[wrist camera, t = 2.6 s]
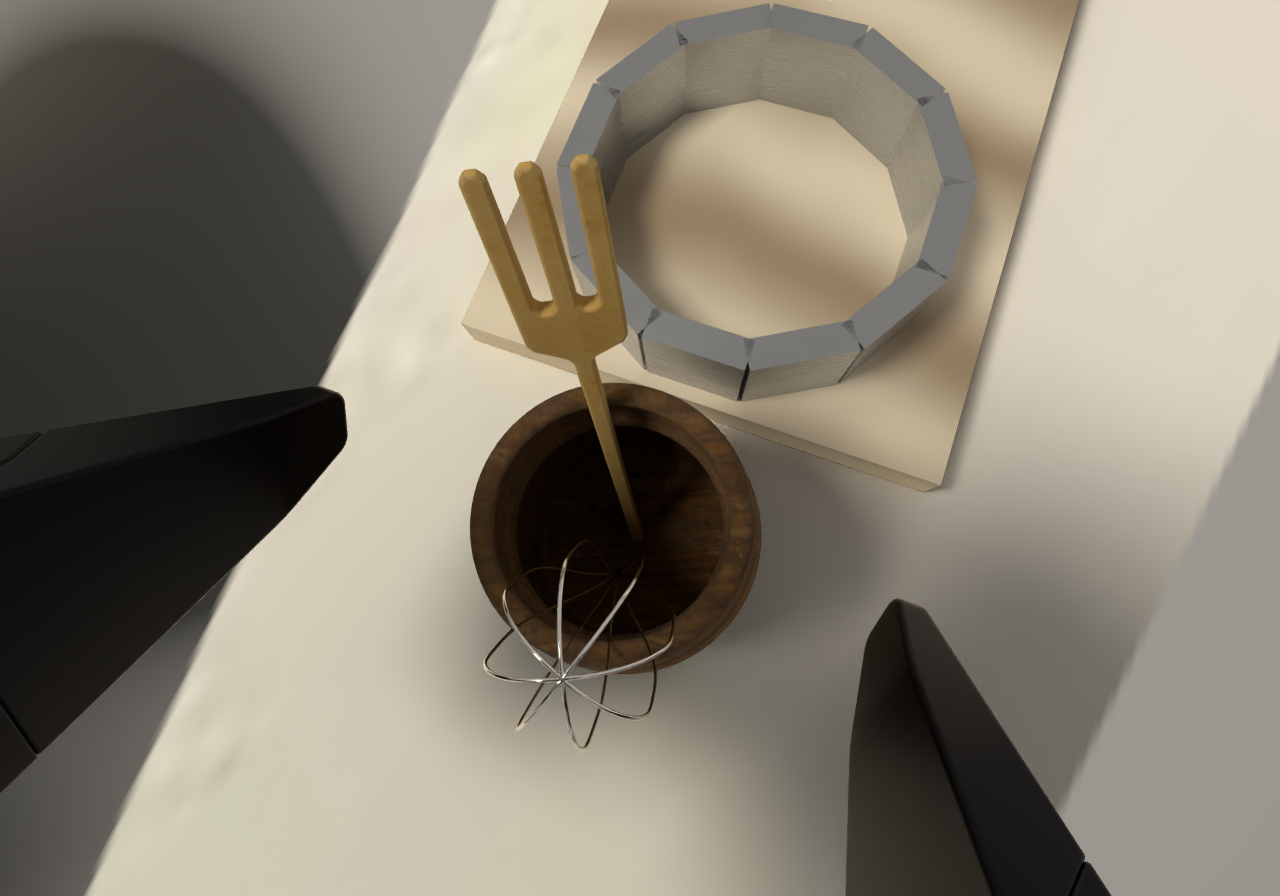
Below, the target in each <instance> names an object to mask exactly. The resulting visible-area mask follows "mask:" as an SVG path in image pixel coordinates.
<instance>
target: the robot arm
mask: <svg viewBox="0 0 1280 896" xmlns="http://www.w3.org/2000/svg"><path fill="white" fill-rule="evenodd" d="M347 436H348V433H347V422H346V411H345V402H344V399H343V397H342V395H341V394H339V393H338V392H335V391H332V390H330V389H327V388H324V387H321V386H311V387H304V388H298V389H292V390H286V391H280V392H274V393H268V394H263V395H257V396H250V397H244V398H238V399H232V400H226V401H220V402H214V403H208V404H202V405H196V406H190V407H184V408H178V409H172V410H166V411H160V412H153V413H147V414H141V415H136V416H129V417H123V418H117V419H111V420H106V421H99V422H93V423H87V424H82V425H75V426H69V427H63V428H58V429H51V430H47V431H45V432H44V433H42V432H39V431H38V432H32V433H26V434H20V435H14V436H8V437H2V438H0V794H1V793H2V792H3V791H4V790H5V789H6V788H7V787H8V786H9V785H10V784H11V783H12V782H13V781H14V780H15V779H16V778H17V777H18V776H19V775H20V774H21V773H22V772H23V771H25V770H26V769H27V767H28V766H30V765H31V764H32V763H33V762H34V760H36V759H37V757H38V755H37V754H41V753H43V752H44V751H45V750H46V748H48V747H49V746H50V745H51V744H52V743H53V742H54V741H55V740H56V739H57V738H58V737H59V736H60V735H61V734H62V733H63V732H64V731H65V730H66V729H67V728H68V727H69V726H70V725H72V724H73V723H74V722H75V721H76V720H77V719H78V718H79V717H80V716H81V715H82V714H83V713H84V712H85V711H86V710H87V709H88V708H89V707H90V706H91V705H92V704H93V703H94V702H95V701H96V700H97V699H98V698H99V697H100V696H101V695H102V694H103V693H104V692H106V691H107V690H108V689H109V688H110V687H111V686H112V685H113V684H114V683H115V682H116V681H117V680H118V679H119V678H120V677H121V676H122V675H123V674H124V673H125V672H126V671H127V670H128V669H129V668H130V667H131V666H132V665H133V664H134V663H136V662H137V661H138V660H139V659H140V658H141V657H142V656H143V655H144V654H145V653H146V652H147V651H148V650H149V649H150V648H151V647H152V646H153V645H154V644H155V643H156V642H157V641H158V640H159V639H160V638H161V637H162V636H163V635H164V634H165V633H166V632H168V631H169V630H170V629H171V627H173V626H174V625H175V624H176V623H177V622H178V621H179V620H180V619H181V618H182V617H183V616H184V615H185V614H186V613H187V612H188V611H189V610H190V609H191V608H192V607H193V606H194V605H195V604H196V603H197V602H198V601H199V600H201V599H202V598H203V597H204V596H205V595H206V594H207V593H208V592H209V591H210V590H211V589H212V588H213V587H214V586H215V585H216V584H217V583H218V582H219V581H220V580H221V579H222V578H223V577H224V576H225V575H226V574H227V573H228V572H229V571H230V570H232V569H233V568H234V567H235V566H236V565H237V564H238V563H239V562H240V561H241V560H242V559H243V558H244V557H245V556H246V555H247V554H248V553H249V552H250V551H251V550H252V549H253V548H254V547H255V546H256V545H257V544H258V543H259V542H260V541H261V540H262V539H264V538H265V537H266V536H267V535H268V534H269V533H270V532H271V531H272V530H273V529H274V528H275V527H276V526H277V525H278V524H279V523H280V522H281V521H282V520H283V519H284V518H285V517H286V516H287V514H288V513H289V512H290V511H291V510H292V509H293V508H294V507H295V505H296V504H297V503H298V502H299V501H300V500H301V498H302V497H303V496H304V495H305V494H306V492H307V491H308V490H309V489H310V488H311V486H312V485H313V484H314V483H315V482H316V480H317V479H318V478H319V477H320V476H321V475H322V473H323V472H324V471H325V470H326V469H327V467H328V466H329V465H330V464H331V463H332V461H333V460H334V459H335V458H336V457H337V455H338V454H339V453H340V452H341V451H342V449H343V448H344V446H345V444H346V441H347ZM1084 860H1085V855H1084V853H1083V852H1082V850H1081V849H1080V847H1079V846H1078V844H1077V842H1076V841H1075V839H1074V838H1073V836H1072V835H1071V833H1070V832H1069V830H1068V829H1067V827H1066V826H1065V824H1064V822H1063V821H1062V819H1061V818H1060V816H1059V815H1058V813H1057V812H1056V810H1055V808H1054V807H1053V805H1052V804H1051V802H1050V801H1049V799H1048V798H1047V796H1046V795H1045V793H1044V791H1043V790H1042V788H1041V787H1040V785H1039V784H1038V782H1037V781H1036V779H1035V778H1034V776H1033V774H1032V773H1031V771H1030V770H1029V768H1028V767H1027V765H1026V764H1025V762H1024V761H1023V759H1022V757H1021V756H1020V754H1019V753H1018V751H1017V750H1016V748H1015V747H1014V745H1013V744H1012V742H1011V740H1010V739H1009V737H1008V736H1007V734H1006V733H1005V731H1004V730H1003V728H1002V727H1001V725H1000V723H999V722H998V720H997V719H996V717H995V716H994V714H993V713H992V711H991V710H990V708H989V707H988V705H987V703H986V702H985V700H984V699H983V697H982V696H981V694H980V693H979V691H978V690H977V688H976V686H975V685H974V683H973V682H972V680H971V679H970V677H969V676H968V674H967V673H966V671H965V669H964V668H963V666H962V665H961V663H960V662H959V660H958V659H957V657H956V656H955V654H954V652H953V651H952V649H951V648H950V646H949V645H948V643H947V642H946V640H945V639H944V637H943V635H942V634H941V632H940V631H939V629H938V628H937V626H936V625H935V623H934V622H933V620H932V618H931V617H930V615H929V614H928V612H927V611H926V610H925V609H924V608H922V607H920V606H918V605H915V604H912V603H910V602H907V601H904V600H901V599H894V600H893V601H892V602H890V604H889V605H888V606H887V608H886V609H885V611H884V613H883V614H882V616H881V617H880V619H879V620H878V622H877V623H876V625H875V627H874V628H873V630H872V631H871V633H870V635H869V637H868V639H867V642H866V646H865V650H864V657H863V664H862V670H861V677H860V683H859V690H858V696H857V703H856V709H855V716H854V722H853V729H852V737H851V744H850V759H849V790H848V825H847V859H846V894H845V896H1111V894H1110V893H1109V891H1108V890H1107V888H1106V887H1105V885H1104V884H1103V882H1102V881H1101V879H1100V878H1099V876H1098V875H1097V873H1096V871H1095V870H1094V868H1093V867H1092V865H1091V864H1090V863H1088V862H1084Z"/></svg>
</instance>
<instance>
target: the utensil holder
mask: <svg viewBox="0 0 1280 896" xmlns="http://www.w3.org/2000/svg"><path fill="white" fill-rule="evenodd" d="M570 172H571V176H572V180H573V185H574V189H575V194H576V198H577V203H578V207H579V212H580V216H581V220H582V225H583V229H584V234H585V238H586V243H587V247H588V252H589V256H590V260H591V265H592V269H593V274H594V278H595V283H596V287H597V293H596V294H595V295H591V296H582V295H580V294H579V293H577V292H576V288H575V284H574V281H573V277H572V274H571V270H570V267H569V263H568V260H567V256H566V253H565V249H564V246H563V242H562V239H561V235H560V232H559V228H558V225H557V221H556V218H555V214H554V211H553V207H552V204H551V200H550V197H549V193H548V189H547V186H546V182H545V179H544V175H543V172H542V169H541V168H540V167H539V166H538V165H536V164H535V163H534V162H532V161H528V162H521V163H519V164H518V166H517V168H516V169H515V171H514V178H515V182H516V185H517V188H518V191H519V194H520V197H521V200H522V204H523V207H524V210H525V213H526V216H527V219H528V222H529V225H530V229H531V232H532V235H533V238H534V241H535V244H536V247H537V251H538V254H539V257H540V260H541V263H542V266H543V269H544V272H545V276H546V279H547V282H548V285H549V288H550V291H551V294H552V298H553V299H552V300H550V301H538V300H537V299H535V298H533V296H532V294H531V291H530V289H529V286H528V283H527V281H526V278H525V276H524V273H523V270H522V268H521V265H520V263H519V260H518V258H517V255H516V252H515V250H514V247H513V245H512V242H511V239H510V237H509V234H508V232H507V229H506V226H505V224H504V221H503V219H502V216H501V214H500V211H499V208H498V206H497V203H496V201H495V198H494V195H493V193H492V190H491V188H490V185H489V182H488V180H487V177H486V176H485V175H484V174H483V173H481V172H480V171H478V170H477V169H469V170H464V171H463V172H462V174H461V176H460V178H459V187H460V189H461V192H462V194H463V196H464V199H465V201H466V204H467V206H468V209H469V211H470V213H471V216H472V218H473V221H474V223H475V225H476V228H477V230H478V233H479V235H480V237H481V240H482V242H483V245H484V247H485V250H486V252H487V254H488V257H489V259H490V262H491V264H492V266H493V269H494V271H495V274H496V276H497V278H498V281H499V283H500V286H501V288H502V291H503V293H504V295H505V298H506V300H507V303H508V305H509V307H510V310H511V312H512V315H513V317H514V319H515V322H516V324H517V327H518V329H519V331H520V334H521V336H522V338H523V341H524V343H525V345H526V347H527V348H529V349H530V350H531V351H533V352H535V353H540V354H544V355H549V356H553V357H558V358H563V359H567V360H569V361H570V362H572V363H573V364H574V365H575V368H576V371H577V374H578V377H579V380H580V383H581V386H582V387H578V388H574V389H571V390H568V391H565V392H563V393H560V394H558V395H555V396H553V397H551V398H549V399H547V400H545V401H544V402H542V403H540V404H539V405H537V406H536V407H534V408H533V409H531V410H530V411H528V412H527V413H526V414H525V415H523V416H522V417H521V418H520V419H519V420H518V421H517V422H516V423H515V424H513V425H512V426H511V428H510V429H509V430H508V431H507V432H506V433H505V434H504V435H503V437H502V438H501V439H500V441H499V442H498V443H497V445H496V446H495V448H494V449H493V451H492V452H491V454H490V456H489V458H488V459H487V461H486V463H485V465H484V467H483V470H482V472H481V474H480V477H479V480H478V482H477V486H476V489H475V493H474V497H473V502H472V508H471V518H470V539H471V548H472V554H473V559H474V563H475V567H476V570H477V574H478V576H479V579H480V582H481V584H482V586H483V588H484V591H485V593H486V595H487V596H488V598H489V600H490V602H491V603H492V605H493V606H494V608H495V609H496V611H497V612H498V614H499V615H500V616H501V617H502V619H503V620H504V621H505V622H506V623H507V624H508V625H509V626H510V627H511V628H512V629H511V630H510V631H509V632H508V633H507V634H505V635H504V636H503V637H502V639H501V640H500V641H499V642H498V643H497V644H496V645H495V646H494V647H493V648H492V650H491V651H490V652H489V653H488V655H487V656H486V657H485V659H484V662H483V667H484V669H485V671H486V672H487V673H488V674H489V675H491V676H493V677H495V678H498V679H501V680H505V681H510V682H520V683H541V684H540V686H539V688H538V689H537V691H536V692H535V694H534V696H533V697H532V699H531V701H530V702H529V704H528V705H527V707H526V709H525V710H524V712H523V714H522V715H521V717H520V719H519V721H518V722H517V724H516V727H515V729H516V730H517V731H519V730H521V729H522V728H523V727H524V726H525V725H526V724H527V723H528V722H529V721H530V720H531V719H532V718H533V717H534V716H535V715H536V714H537V712H538V711H539V710H540V709H541V708H542V707H543V705H544V704H545V703H546V702H547V701H548V699H549V698H550V697H551V696H552V695H553V693H554V692H555V691H556V690H557V688H558V687H559V686H560V685H561V691H562V699H563V706H564V712H565V717H566V723H567V727H568V731H569V734H570V737H571V740H572V742H573V744H574V746H575V747H576V749H577V750H579V751H585V750H586V749H587V748H588V746H589V744H590V741H591V739H592V736H593V733H594V730H595V728H596V725H597V722H598V719H599V716H600V712H601V710H603V711H605V712H607V713H609V714H611V715H614V716H616V717H619V718H622V719H627V720H642V719H645V718H647V717H648V716H649V715H650V714H651V712H652V709H653V706H654V701H655V695H656V689H657V670H660V669H663V668H666V667H669V666H672V665H674V664H677V663H679V662H682V661H683V660H685V659H687V658H689V657H691V656H693V655H695V654H696V653H698V652H699V651H701V650H702V649H704V648H705V647H706V646H708V645H709V644H710V643H711V642H713V641H714V640H715V639H716V638H717V637H718V636H719V635H720V634H721V633H722V632H723V631H724V630H725V629H726V628H727V627H728V625H729V624H730V623H731V622H732V621H733V619H734V618H735V616H736V615H737V613H738V612H739V611H740V609H741V607H742V605H743V604H744V602H745V600H746V598H747V596H748V594H749V592H750V590H751V587H752V584H753V581H754V579H755V575H756V571H757V568H758V563H759V557H760V549H761V522H760V515H759V509H758V505H757V500H756V497H755V494H754V491H753V488H752V485H751V483H750V480H749V478H748V476H747V474H746V472H745V469H744V467H743V465H742V463H741V461H740V459H739V457H738V456H737V454H736V452H735V451H734V449H733V447H732V446H731V445H730V443H729V442H728V440H727V439H726V438H725V436H724V435H723V434H722V433H721V432H720V430H719V429H718V428H717V427H716V426H715V425H714V424H713V423H712V422H711V421H710V420H709V419H708V418H707V417H706V416H704V415H703V414H702V413H701V412H700V411H698V410H697V409H695V408H694V407H693V406H691V405H689V404H688V403H686V402H685V401H683V400H681V399H679V398H677V397H675V396H673V395H671V394H668V393H666V392H664V391H661V390H658V389H654V388H651V387H647V386H643V385H637V384H630V383H602V382H601V378H600V375H599V371H598V367H597V364H596V360H595V357H596V356H597V355H599V354H601V353H603V352H605V351H607V350H609V349H610V348H612V347H614V346H616V345H618V344H620V343H622V342H623V341H624V340H625V338H626V337H627V335H628V326H627V318H626V313H625V307H624V302H623V296H622V291H621V285H620V280H619V274H618V269H617V263H616V258H615V253H614V247H613V242H612V236H611V231H610V225H609V220H608V215H607V209H606V204H605V198H604V193H603V187H602V182H601V176H600V171H599V166H598V161H597V160H596V159H595V158H593V157H592V156H591V155H590V154H580V155H576V156H575V157H574V159H573V160H572V162H571V164H570ZM514 631H515V632H516V634H517V635H518V637H519V638H520V640H521V641H522V642H523V643H524V645H525V646H526V647H527V648H528V649H529V651H530V652H531V653H532V654H533V655H534V656H535V657H536V658H537V659H538V660H539V661H540V662H541V663H542V664H543V665H544V666H545V667H546V668H547V669H548V670H549V672H548V674H547V675H546V677H545V678H515V677H508V676H503V675H500V674H497V673H495V672H493V671H491V670H490V669H489V668H488V666H487V661H488V660H489V658H490V657H491V655H492V654H493V653H494V652H495V650H496V649H497V648H498V647H499V646H500V645H501V643H502V642H503V641H504V640H505V639H506V638H507V637H508V636H509V635H510V634H511V633H512V632H514ZM530 644H531V645H532V646H534V647H535V648H537V649H539V650H540V651H542V652H544V653H546V654H548V655H550V656H552V657H554V658H556V659H557V661H556V662H555V663H554V665H553V666H550V665H549V664H548V663H547V662H546V661H545V660H544V659H543V658H542V657H541V656H540V655H539V654H538V653H537V652H536V650H535V649H534V648H533V647H532V646H531V645H530ZM563 662H566V663H569V664H571V665H570V667H569V668H568V669H567V670H566V672H565V673H564V668H563ZM558 663H559V672H560V674H559V673H558V672H557V671H556V670H555V667H556V666H557V664H558ZM575 666H579V667H583V668H586V669H589V670H593V671H598V672H595V673H589V674H582V675H574V676H568V675H569V674H570V672H571V671H572V670H573V669H574V667H575ZM651 671H654V686H653V693H652V698H651V703H650V706H649V709H648V711H647V712H646V713H645V714H644V715H640V716H630V715H625V714H622V713H619V712H616V711H614V710H611V709H609V708H607V707H605V706H604V705H602V704H603V700H604V695H605V690H606V683H607V676H608V674H637V673H645V672H651ZM551 673H553V674H554V675H555V676H556V677H553V678H549V676H550V675H551ZM603 675H605V677H604V683H603V690H602V695H601V699H600V703H598V702H597V701H595V700H593V699H592V698H590V697H589V696H587V695H586V694H585V693H583V692H582V691H580V690H579V689H578V688H576V687H575V686H574V685H573V684H571V683H570V682H569V681H570V680H579V679H586V678H593V677H598V676H603ZM561 678H564V680H563V681H562V680H561ZM547 682H557V683H556V684H555V685H554V687H553V688H552V689H551V690H550V691H549V693H548V694H547V695H546V696H545V697H544V699H543V700H542V701H541V702H540V703H539V705H538V706H537V707H536V708H535V709H534V710H533V712H532V713H531V714H530V715H529V716H528V717H527V718H526V719H525V720H524V721H523V719H524V717H525V716H526V714H527V712H528V711H529V709H530V707H531V705H532V704H533V702H534V700H535V699H536V697H537V695H538V694H539V692H540V690H541V689H542V687H543V686H544V684H545V683H547ZM565 685H567V686H568V687H569V688H570V689H572V690H573V691H574V692H575V693H577V694H578V695H580V696H581V697H582V698H584V699H585V700H586V701H588V702H590V703H591V704H593V705H594V706H596V707H598V711H597V714H596V717H595V720H594V723H593V726H592V728H591V731H590V734H589V737H588V739H587V741H586V743H585V745H584V746H583V747H581V746H580V745H579V744H578V742H577V741H576V738H575V736H574V732H573V729H572V725H571V721H570V715H569V710H568V703H567V696H566V688H565ZM522 721H523V722H522Z"/></svg>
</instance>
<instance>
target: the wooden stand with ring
mask: <svg viewBox="0 0 1280 896" xmlns="http://www.w3.org/2000/svg"><path fill="white" fill-rule="evenodd" d="M1078 2H1079V0H609V2H608V4H607V6H606V8H605V11H604V13H603V15H602V17H601V19H600V21H599V24H598V26H597V28H596V30H595V32H594V35H593V37H592V39H591V41H590V43H589V45H588V48H587V50H586V52H585V54H584V56H583V59H582V61H581V63H580V65H579V67H578V69H577V72H576V74H575V76H574V78H573V80H572V82H571V85H570V87H569V89H568V91H567V93H566V96H565V98H564V100H563V102H562V104H561V106H560V109H559V111H558V113H557V115H556V117H555V120H554V122H553V124H552V126H551V128H550V130H549V133H548V135H547V137H546V139H545V141H544V144H543V146H542V148H541V150H540V152H539V154H538V157H537V159H536V161H535V164H536V165H538V166H539V167H540V168H541V169H542V172H543V175H544V179H545V182H546V186H547V189H548V193H549V197H550V200H551V204H552V207H553V211H554V214H555V218H556V221H557V225H558V228H559V232H560V235H561V239H562V242H563V246H564V249H565V253H566V256H567V260H568V263H569V267H570V270H571V274H572V277H573V281H574V284H575V288H576V292H577V293H579V294H580V295H582V296H591V295H595V294H596V293H597V287H596V283H595V278H594V274H593V269H592V265H591V260H590V256H589V252H588V247H587V243H586V238H585V234H584V229H583V225H582V220H581V216H580V212H579V207H578V203H577V198H576V194H575V189H574V185H573V180H572V176H571V172H570V164H571V162H572V160H573V159H574V157H575V156H576V155H580V154H590V155H591V156H592V157H593V158H595V159H596V160H597V161H598V166H599V171H600V176H601V182H602V187H603V193H604V198H605V204H606V209H607V215H608V220H609V225H610V231H611V236H612V242H613V247H614V253H615V258H616V263H617V269H618V274H619V280H620V285H621V291H622V296H623V302H624V307H625V313H626V318H627V326H628V335H627V337H626V338H625V340H624V341H623V342H622V343H620V344H618V345H616V346H614V347H612V348H610V349H609V350H607V351H605V352H603V353H601V354H599V355H597V356H596V357H595V360H596V364H597V367H598V371H599V375H600V378H601V382H602V383H630V384H637V385H643V386H647V387H651V388H654V389H658V390H661V391H664V392H666V393H668V394H671V395H673V396H675V397H677V398H679V399H681V400H683V401H685V402H686V403H688V404H689V405H691V406H693V407H694V408H695V409H697V410H698V411H700V412H701V413H702V414H703V415H704V416H706V417H707V418H708V419H710V420H713V421H716V422H719V423H721V424H724V425H727V426H730V427H733V428H736V429H739V430H742V431H745V432H748V433H751V434H754V435H757V436H760V437H763V438H766V439H768V440H771V441H774V442H777V443H780V444H783V445H786V446H789V447H792V448H795V449H798V450H801V451H804V452H807V453H810V454H813V455H815V456H818V457H821V458H824V459H827V460H830V461H833V462H836V463H839V464H842V465H845V466H848V467H851V468H854V469H857V470H860V471H862V472H865V473H868V474H871V475H874V476H877V477H880V478H883V479H886V480H889V481H892V482H895V483H898V484H901V485H904V486H907V487H909V488H912V489H915V490H918V491H921V492H926V491H928V490H931V489H933V488H936V487H938V486H941V483H942V480H943V476H944V473H945V469H946V466H947V462H948V459H949V455H950V452H951V448H952V445H953V441H954V438H955V434H956V430H957V427H958V423H959V420H960V416H961V413H962V409H963V406H964V402H965V399H966V395H967V392H968V388H969V385H970V381H971V378H972V374H973V371H974V367H975V364H976V360H977V357H978V353H979V350H980V346H981V343H982V339H983V336H984V332H985V329H986V325H987V322H988V318H989V315H990V311H991V308H992V304H993V301H994V297H995V294H996V290H997V287H998V283H999V280H1000V276H1001V273H1002V269H1003V266H1004V262H1005V259H1006V255H1007V252H1008V248H1009V245H1010V241H1011V238H1012V234H1013V230H1014V227H1015V223H1016V220H1017V216H1018V213H1019V209H1020V206H1021V202H1022V199H1023V195H1024V192H1025V188H1026V185H1027V181H1028V178H1029V174H1030V171H1031V167H1032V164H1033V160H1034V157H1035V153H1036V150H1037V146H1038V143H1039V139H1040V136H1041V132H1042V129H1043V125H1044V122H1045V118H1046V115H1047V111H1048V108H1049V104H1050V101H1051V97H1052V94H1053V90H1054V87H1055V83H1056V80H1057V76H1058V73H1059V69H1060V66H1061V62H1062V59H1063V55H1064V52H1065V48H1066V45H1067V41H1068V37H1069V34H1070V30H1071V27H1072V23H1073V20H1074V16H1075V13H1076V9H1077V6H1078ZM506 229H507V232H508V234H509V237H510V239H511V242H512V245H513V247H514V250H515V252H516V255H517V258H518V260H519V263H520V265H521V268H522V270H523V273H524V276H525V278H526V281H527V283H528V286H529V289H530V291H531V294H532V296H533V298H535V299H537V300H538V301H550V300H552V299H553V298H552V294H551V291H550V288H549V285H548V282H547V279H546V276H545V272H544V269H543V266H542V263H541V260H540V257H539V254H538V251H537V247H536V244H535V241H534V238H533V235H532V232H531V229H530V225H529V222H528V219H527V216H526V213H525V210H524V207H523V204H522V200H521V197H520V196H519V198H518V200H517V202H516V205H515V207H514V209H513V211H512V213H511V215H510V218H509V220H508V222H507V224H506ZM461 324H462V325H463V326H464V328H465V329H466V330H467V331H468V332H469V333H470V335H471V336H472V337H473V338H474V339H475V340H478V341H481V342H483V343H486V344H489V345H492V346H495V347H498V348H501V349H504V350H507V351H510V352H513V353H516V354H519V355H522V356H525V357H528V358H530V359H533V360H536V361H539V362H542V363H545V364H548V365H551V366H554V367H557V368H560V369H563V370H566V371H569V372H572V373H575V374H577V371H576V368H575V365H574V364H573V363H572V362H570V361H569V360H567V359H563V358H558V357H553V356H549V355H544V354H540V353H535V352H533V351H531V350H530V349H529V348H527V347H526V345H525V343H524V341H523V338H522V336H521V334H520V331H519V329H518V327H517V324H516V322H515V319H514V317H513V315H512V312H511V310H510V307H509V305H508V303H507V300H506V298H505V295H504V293H503V291H502V288H501V286H500V283H499V281H498V278H497V276H496V274H495V271H494V269H493V266H492V264H491V262H490V261H489V263H488V266H487V268H486V270H485V272H484V274H483V276H482V279H481V281H480V283H479V285H478V287H477V290H476V292H475V294H474V296H473V298H472V300H471V303H470V305H469V307H468V309H467V311H466V314H465V316H464V318H463V320H462V322H461ZM577 375H578V374H577Z"/></svg>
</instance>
